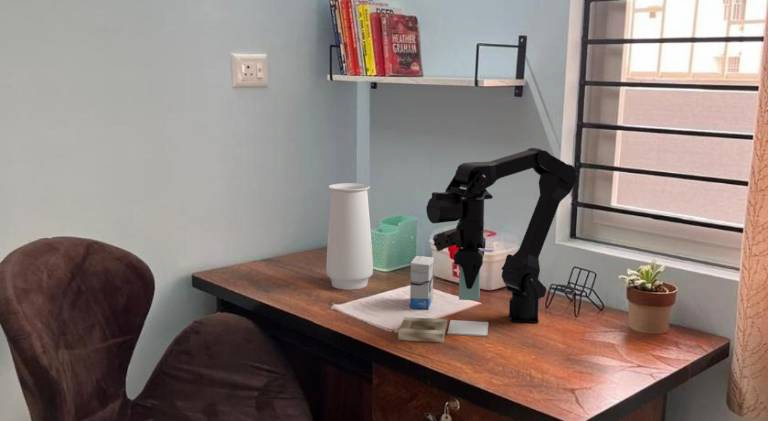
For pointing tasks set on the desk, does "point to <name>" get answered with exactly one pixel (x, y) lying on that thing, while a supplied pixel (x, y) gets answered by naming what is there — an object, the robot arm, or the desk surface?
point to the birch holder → (415, 326)
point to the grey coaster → (468, 328)
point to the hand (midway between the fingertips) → (469, 285)
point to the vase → (349, 237)
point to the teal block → (468, 293)
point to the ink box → (421, 282)
